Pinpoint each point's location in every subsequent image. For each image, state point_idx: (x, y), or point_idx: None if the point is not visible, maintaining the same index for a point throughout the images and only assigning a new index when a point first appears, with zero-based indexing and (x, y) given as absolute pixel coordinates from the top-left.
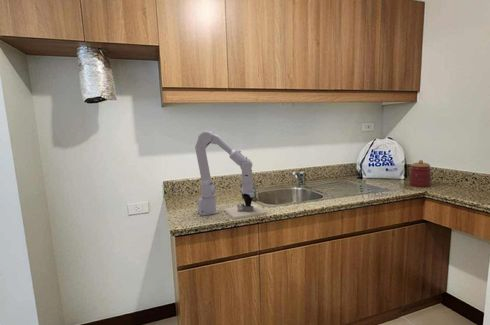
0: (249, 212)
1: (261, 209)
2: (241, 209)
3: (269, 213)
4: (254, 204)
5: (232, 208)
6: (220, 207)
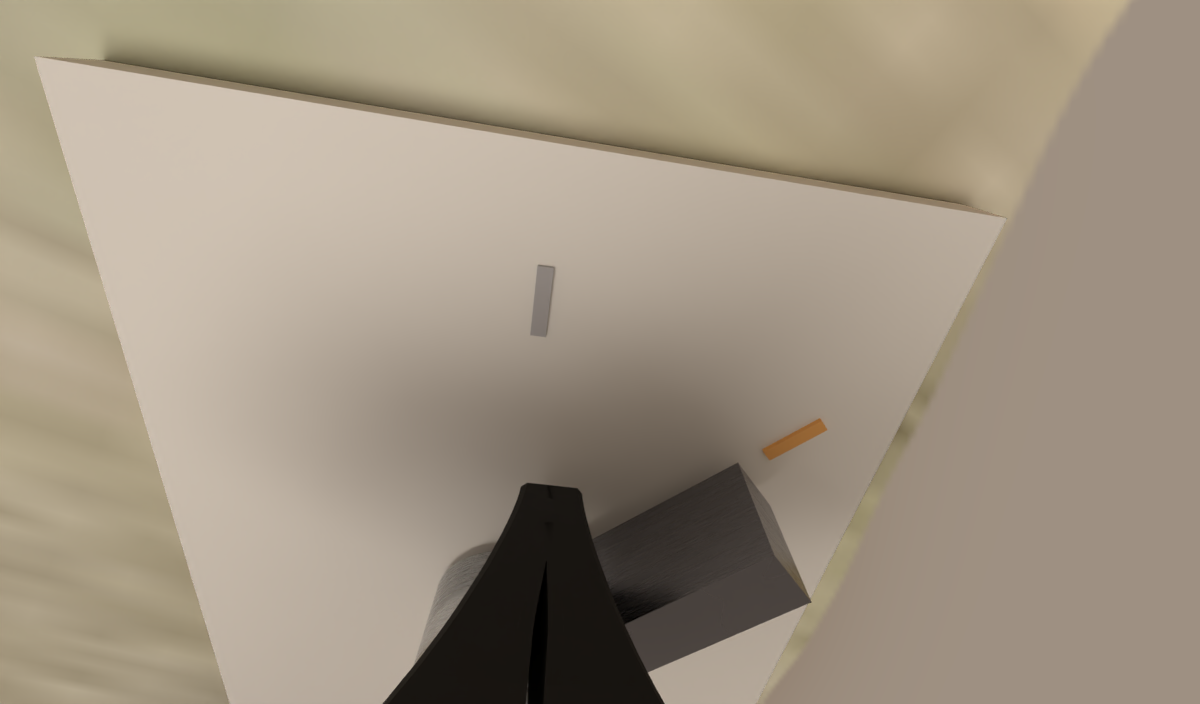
0: None
1: (735, 201)
2: None
3: (998, 88)
4: (78, 70)
5: (279, 635)
6: (23, 660)
